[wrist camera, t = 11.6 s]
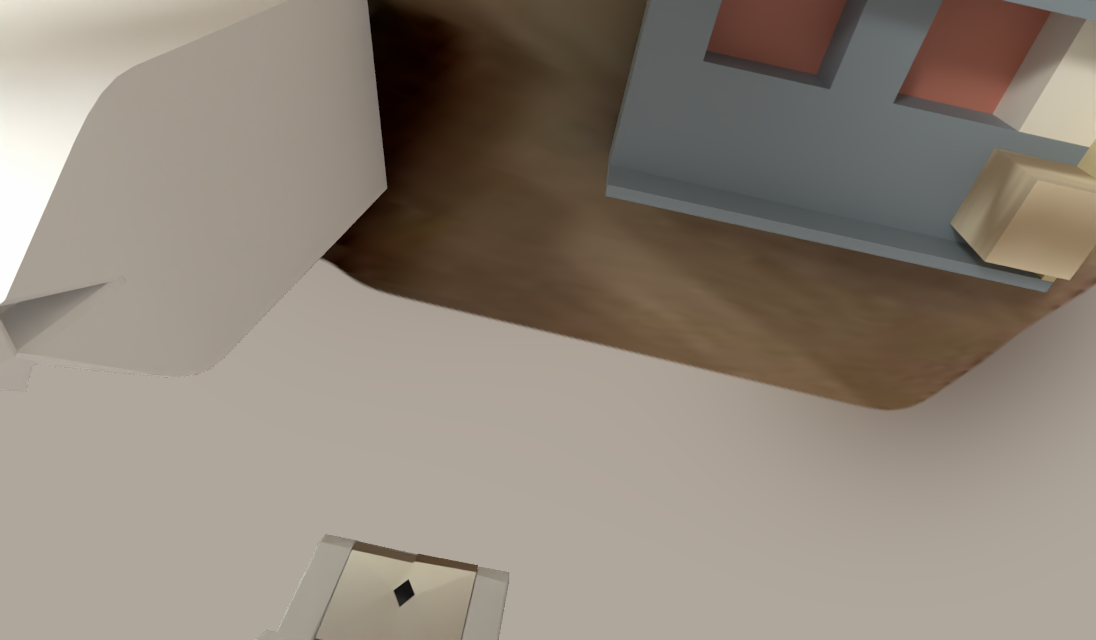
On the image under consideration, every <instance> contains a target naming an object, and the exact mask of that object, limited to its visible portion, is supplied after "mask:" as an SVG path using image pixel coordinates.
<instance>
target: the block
mask: <svg viewBox="0 0 1096 640" xmlns="http://www.w3.org/2000/svg"><path fill="white" fill-rule="evenodd" d="M950 224H951V225H952V226H953V227H954V228H955V229H956V231H957V232H958V233H959V234H960V235H961V236H962V237H963V238H964V239H965V240H966V241H967V243H968V244H969V245H970V246H971V247H972V248H973V249H974V250H975V251H976V252H977V254H978V255H979V256H980V257H981V258H982V259H983V260H984V261H985V262H989V263H994V264H998V265H1003V266H1007V267H1012V268H1016V269H1021V270H1025V271H1030V272H1034V273H1039V274H1043V275H1048V276H1052V277H1057V278H1061V279H1066V280H1070V279H1071V278H1072V276H1073V275H1074V274H1075V272H1076V271H1077V270H1078V268H1079V267H1080V266H1081V264H1082V263H1083V262H1084V260H1085V259H1086V258H1087V256H1088V255H1089V254H1090V252H1091V251H1092V250H1093V248H1094V247H1095V246H1096V179H1095V178H1094V177H1092V176H1091V175H1089V174H1088V173H1086V172H1085V171H1083V170H1082V169H1080V168H1079V167H1077V166H1073V165H1069V164H1064V163H1060V162H1055V161H1051V160H1046V159H1042V158H1037V157H1033V156H1029V155H1024V154H1020V153H1015V152H1011V151H1006V150H1002V149H997V148H995V149H994V150H993V152H992V154H991V155H990V157H989V159H988V160H987V162H986V164H985V165H984V167H983V169H982V170H981V172H980V174H979V175H978V177H977V179H976V180H975V182H974V184H973V186H972V187H971V189H970V191H969V192H968V194H967V196H966V197H965V199H964V201H963V202H962V204H961V206H960V207H959V209H958V211H957V212H956V214H955V216H954V217H953V219H952V221H951V223H950Z"/></svg>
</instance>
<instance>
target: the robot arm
mask: <svg viewBox="0 0 1096 640" xmlns="http://www.w3.org/2000/svg"><path fill="white" fill-rule="evenodd" d="M477 568H478V570H477ZM476 573H477V574H476ZM475 578H476V579H475ZM508 584H509V572H505V571H499V570H494V569H489V568H484V567H478V565H474V564H468V563H463V562H458V561H453V560H448V559H443V558H437V557H432V556H427V555H422V554H414V553H409V552H405V551H399V550H395V549H391V548H386V547H381V546H377V545H373V544H368V543H363V542H359V541H357V540H351V539H347V538H342V537H337V536H332V535H327V534H326V535H325V536H324V537H323V538H322V539H321V541H320V542H319V543H318V545H317V547H316V549H315V551H314V553H313V556H312V558H311V560H310V562H309V564H308V566H307V568H306V570H305V572H304V574H303V577H302V579H301V581H300V583H299V585H298V587H297V589H296V591H295V594H294V595H293V598H292V600H291V602H290V604H289V606H288V608H287V610H286V612H285V614H284V617H283V619H282V621H281V623H280V625H279V627H278V629H277V631H276V632H275V631H269V630H266V631H265V632H263V633H262V634H261V635H259V636H258V637H257V638H255V639H254V640H499V635H500V629H501V624H502V618H503V612H504V607H505V601H506V595H507V590H508Z"/></svg>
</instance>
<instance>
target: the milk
mask: <svg viewBox="0 0 1096 640" xmlns="http://www.w3.org/2000/svg"><path fill="white" fill-rule="evenodd" d="M386 189H387V181H386V172H385V162H384V153H383V143H382V134H381V125H380V115H379V106H378V96H377V87H376V77H375V68H374V59H373V49H372V40H371V30H370V21H369V12H368V2H367V0H0V390H2V391H19V392H26V391H27V387H28V382H29V378H30V373H31V368H32V364H35V365H45V366H54V367H64V368H74V369H84V370H94V371H104V372H114V373H124V374H134V375H135V374H136V375H144V376H155V377H164V378H168V377H180V376H189V375H197V374H200V373H202V372H205V371H207V370H210V369H211V368H213V367H214V366H215V365H216V364H218V363H219V362H220V361H221V360H222V359H224V358H225V356H227V354H228V353H229V352H230V351H231V350H232V349H233V348H234V347H235V346H236V345H237V344H238V343H239V342H240V341H241V340H242V339H243V338H244V337H245V336H246V335H247V334H248V333H249V331H250V330H252V328H253V327H254V326H255V325H256V324H257V323H258V322H259V321H260V320H261V319H262V318H263V317H264V316H265V315H266V314H267V313H268V312H269V311H270V310H271V309H272V308H273V307H274V306H275V305H276V303H277V302H278V301H279V300H280V299H281V298H282V297H283V296H284V295H285V294H286V293H287V292H288V291H289V290H290V289H291V288H292V287H293V286H294V285H295V284H296V283H297V282H298V281H299V280H300V279H301V278H302V276H303V275H304V274H305V273H306V272H307V271H308V270H309V269H310V268H311V267H312V266H313V265H314V264H315V263H316V262H317V261H318V260H319V259H320V258H321V257H322V256H323V255H324V254H325V253H326V252H327V251H328V249H329V248H330V247H331V246H332V245H333V244H334V243H335V242H336V241H337V240H338V239H339V238H340V237H341V236H342V235H343V234H344V233H345V232H346V231H347V230H348V229H349V228H350V227H351V226H352V225H353V223H354V222H355V221H356V220H357V219H358V218H359V217H360V216H361V215H362V214H363V213H364V212H365V211H366V210H367V209H368V208H369V207H370V206H371V205H372V204H373V203H374V202H375V201H376V200H377V199H378V197H379V196H380V195H381V194H382V193H383V192H384V191H385V190H386Z"/></svg>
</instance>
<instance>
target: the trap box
mask: <svg viewBox="0 0 1096 640" xmlns="http://www.w3.org/2000/svg"><path fill="white" fill-rule="evenodd" d="M995 148H997V149H1002V150H1006V151H1011V152H1015V153H1020V154H1024V155H1029V156H1033V157H1037V158H1042V159H1046V160H1051V161H1055V162H1060V163H1064V164H1069V165H1073V166H1077V167H1079V168H1080V169H1082V170H1083V171H1085V172H1086V173H1088V174H1089V175H1091V176H1092V177H1094V178H1095V179H1096V0H647V3H646V7H645V12H644V16H643V20H642V24H641V28H640V32H639V36H638V40H637V44H636V48H635V52H634V56H633V60H632V64H631V68H630V72H629V76H628V80H627V84H626V88H625V92H624V96H623V100H622V104H621V108H620V112H619V116H618V120H617V124H616V128H615V132H614V136H613V141H612V145H611V149H610V153H609V158H608V169H607V180H606V192H605V196H607V197H612V198H617V199H621V200H626V201H630V202H635V203H639V204H644V205H648V206H653V207H658V208H662V209H667V210H671V211H676V212H680V213H685V214H690V215H694V216H699V217H703V218H708V219H712V220H717V221H722V222H726V223H731V224H735V225H740V226H744V227H749V228H754V229H758V230H763V231H767V232H772V233H776V234H781V235H785V236H790V237H795V238H799V239H804V240H808V241H813V242H817V243H822V244H827V245H831V246H836V247H840V248H845V249H849V250H854V251H859V252H863V253H868V254H872V255H877V256H881V257H886V258H891V259H895V260H900V261H904V262H909V263H913V264H918V265H922V266H927V267H932V268H936V269H941V270H945V271H950V272H954V273H959V274H964V275H968V276H973V277H977V278H982V279H986V280H991V281H996V282H1000V283H1005V284H1009V285H1014V286H1018V287H1023V288H1028V289H1032V290H1037V291H1041V292H1047V290H1048V289H1049V288H1050V286H1051V285H1052V284H1053V282H1054V281H1055V280H1056V278H1057V277H1052V276H1048V275H1043V274H1039V273H1034V272H1030V271H1025V270H1021V269H1016V268H1012V267H1007V266H1003V265H998V264H994V263H989V262H985V261H984V260H983V259H982V258H981V257H980V256H979V255H978V254H977V252H976V251H975V250H974V249H973V248H972V247H971V246H970V245H969V244H968V243H967V241H966V240H965V239H964V238H963V237H962V236H961V235H960V234H959V233H958V232H957V231H956V229H955V228H954V227H953V226H952V225H951V224H950V223H951V221H952V219H953V217H954V216H955V214H956V212H957V211H958V209H959V207H960V206H961V204H962V202H963V201H964V199H965V197H966V196H967V194H968V192H969V191H970V189H971V187H972V186H973V184H974V182H975V180H976V179H977V177H978V175H979V174H980V172H981V170H982V169H983V167H984V165H985V164H986V162H987V160H988V159H989V157H990V155H991V154H992V152H993V150H994V149H995Z"/></svg>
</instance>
